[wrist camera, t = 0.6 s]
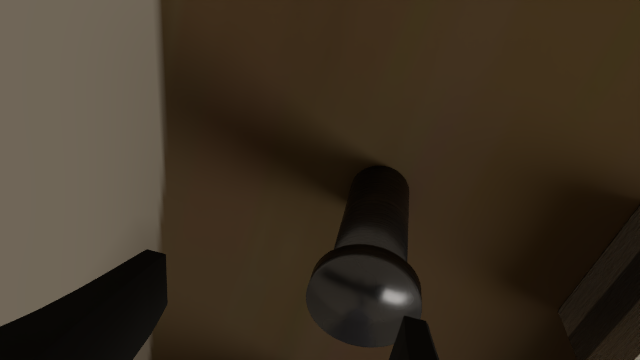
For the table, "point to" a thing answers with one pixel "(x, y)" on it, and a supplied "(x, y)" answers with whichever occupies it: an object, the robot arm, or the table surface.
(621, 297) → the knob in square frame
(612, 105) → the table surface
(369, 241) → the round dark gray knob
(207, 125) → the table surface
